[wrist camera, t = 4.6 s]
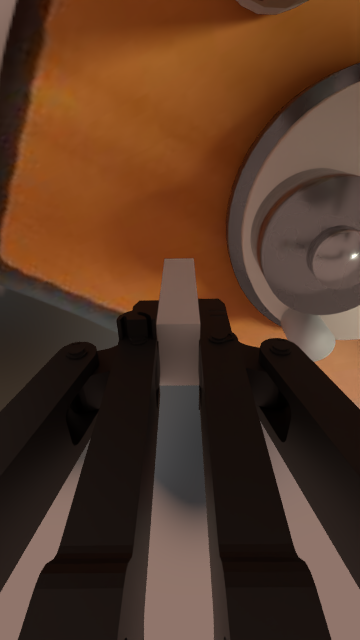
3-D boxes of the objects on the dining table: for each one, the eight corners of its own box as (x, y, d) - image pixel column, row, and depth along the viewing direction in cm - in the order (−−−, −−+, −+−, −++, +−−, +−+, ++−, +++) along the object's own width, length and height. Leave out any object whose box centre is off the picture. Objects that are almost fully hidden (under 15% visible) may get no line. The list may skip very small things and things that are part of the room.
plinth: (234, 62, 23) (238, 56, 21) (554, 54, 22) (586, 48, 21) (220, 328, 34) (221, 338, 32) (433, 326, 33) (447, 337, 32)
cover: (256, 169, 23) (279, 181, 17) (386, 166, 23) (452, 179, 17) (245, 286, 27) (261, 326, 22) (353, 285, 27) (397, 325, 21)
